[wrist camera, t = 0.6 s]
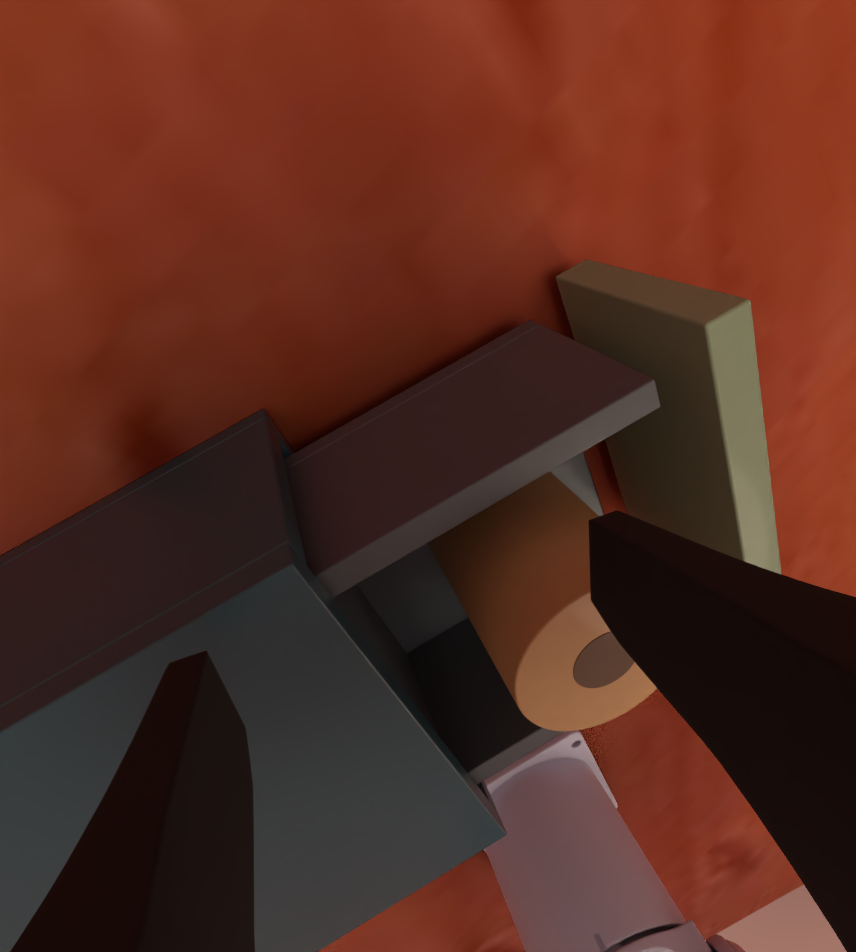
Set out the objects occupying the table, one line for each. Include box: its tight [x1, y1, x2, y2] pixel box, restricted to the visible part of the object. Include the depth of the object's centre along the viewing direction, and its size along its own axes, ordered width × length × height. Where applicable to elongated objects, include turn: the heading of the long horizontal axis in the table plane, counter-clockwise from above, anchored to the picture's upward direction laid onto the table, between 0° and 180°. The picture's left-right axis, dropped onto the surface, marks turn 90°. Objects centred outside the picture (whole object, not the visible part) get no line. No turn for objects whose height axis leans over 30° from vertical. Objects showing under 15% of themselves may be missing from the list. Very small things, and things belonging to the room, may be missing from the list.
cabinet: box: [0, 409, 507, 952], centre depth 18 cm, size 14×13×9 cm
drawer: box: [284, 260, 781, 785], centre depth 18 cm, size 14×11×7 cm
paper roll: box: [427, 472, 657, 731], centre depth 17 cm, size 5×5×8 cm
